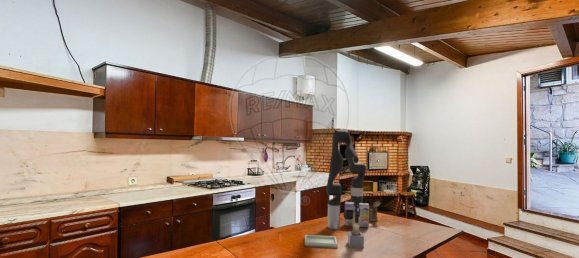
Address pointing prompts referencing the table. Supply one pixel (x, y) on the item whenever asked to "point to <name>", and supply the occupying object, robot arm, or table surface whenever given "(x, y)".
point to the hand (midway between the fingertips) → (356, 221)
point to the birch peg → (355, 226)
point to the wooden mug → (373, 211)
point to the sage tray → (321, 241)
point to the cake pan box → (363, 214)
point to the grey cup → (355, 240)
